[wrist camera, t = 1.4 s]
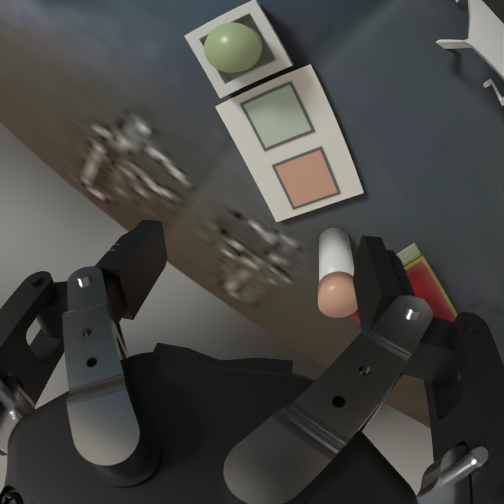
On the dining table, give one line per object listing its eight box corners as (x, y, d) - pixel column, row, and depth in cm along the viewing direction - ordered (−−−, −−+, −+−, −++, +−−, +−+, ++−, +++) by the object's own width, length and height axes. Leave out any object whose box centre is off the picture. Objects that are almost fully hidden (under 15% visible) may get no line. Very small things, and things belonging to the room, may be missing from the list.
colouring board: (310, 64, 24) (310, 64, 24) (362, 189, 31) (364, 193, 30) (217, 105, 28) (214, 106, 27) (277, 218, 35) (276, 223, 34)
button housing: (260, 5, 22) (254, -1, 19) (293, 65, 25) (292, 65, 22) (195, 37, 24) (184, 36, 22) (228, 94, 27) (220, 98, 25)
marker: (344, 222, 33) (353, 282, 25) (354, 249, 35) (363, 311, 27) (313, 232, 35) (312, 293, 27) (324, 258, 37) (325, 321, 28)
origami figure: (406, 20, 20) (423, 14, 16) (455, -17, 15) (477, -25, 11) (476, 114, 23) (500, 125, 19) (519, 76, 19) (545, 83, 15)
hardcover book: (403, 356, 46) (407, 377, 42) (336, 285, 39) (337, 308, 36) (464, 324, 40) (472, 344, 36) (414, 236, 33) (424, 257, 30)
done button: (249, 18, 21) (242, 13, 18) (272, 58, 23) (268, 58, 20) (206, 40, 23) (194, 38, 20) (228, 79, 25) (219, 81, 22)
